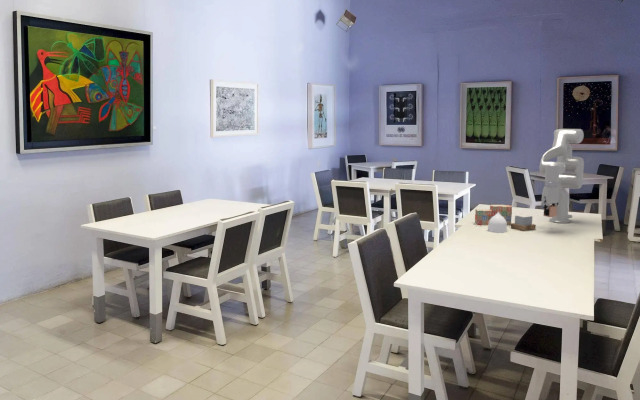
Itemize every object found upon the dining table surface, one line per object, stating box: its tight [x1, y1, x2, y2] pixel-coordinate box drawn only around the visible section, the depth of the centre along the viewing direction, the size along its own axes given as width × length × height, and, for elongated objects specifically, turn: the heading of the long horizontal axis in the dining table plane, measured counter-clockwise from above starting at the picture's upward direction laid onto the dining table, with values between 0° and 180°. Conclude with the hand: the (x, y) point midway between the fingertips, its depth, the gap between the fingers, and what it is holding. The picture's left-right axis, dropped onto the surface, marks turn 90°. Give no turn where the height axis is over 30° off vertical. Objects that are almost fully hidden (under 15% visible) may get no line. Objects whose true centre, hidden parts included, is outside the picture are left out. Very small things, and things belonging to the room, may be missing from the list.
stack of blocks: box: [474, 204, 513, 226], centre depth 349 cm, size 21×6×12 cm, turn 86°
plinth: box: [510, 222, 537, 232], centre depth 335 cm, size 10×10×3 cm
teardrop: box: [487, 212, 508, 234], centre depth 329 cm, size 11×11×12 cm
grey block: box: [514, 214, 533, 226], centre depth 334 cm, size 7×7×5 cm
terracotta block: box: [543, 204, 557, 218], centre depth 326 cm, size 5×5×6 cm
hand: (549, 214), depth 326 cm, fingers closed on terracotta block, 5 cm apart
